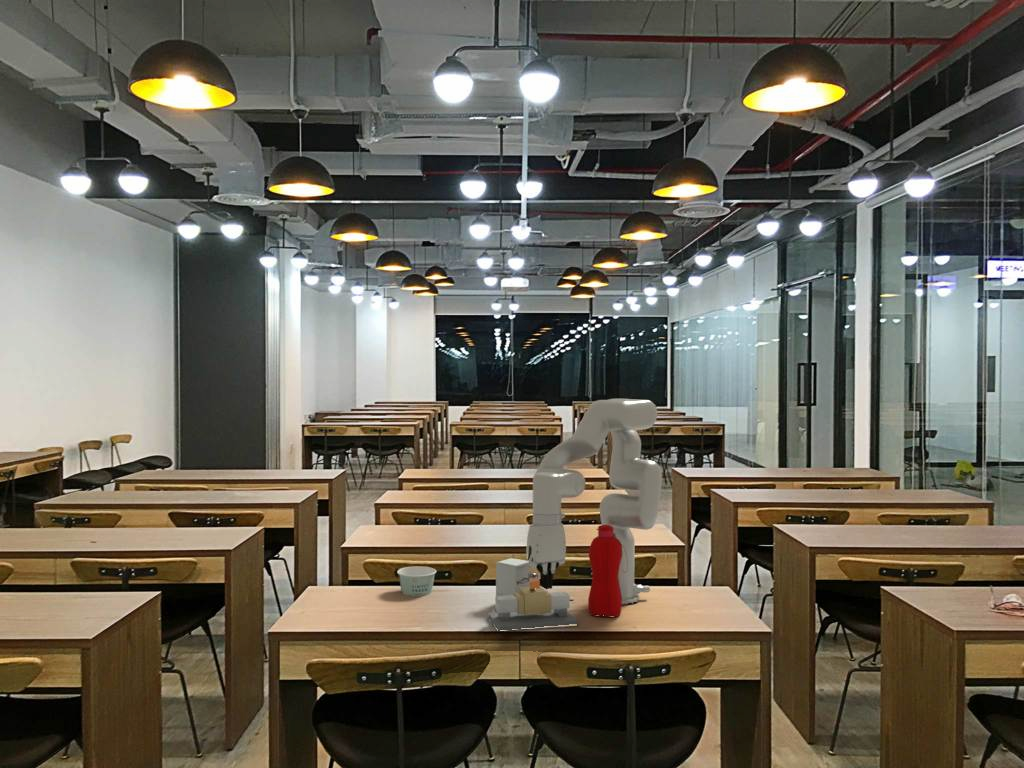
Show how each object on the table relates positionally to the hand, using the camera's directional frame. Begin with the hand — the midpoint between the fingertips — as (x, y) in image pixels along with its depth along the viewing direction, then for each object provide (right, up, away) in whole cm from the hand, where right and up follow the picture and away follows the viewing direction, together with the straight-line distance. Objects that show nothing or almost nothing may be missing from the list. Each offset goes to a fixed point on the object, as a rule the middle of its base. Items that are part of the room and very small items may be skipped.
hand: (546, 587), depth 232 cm
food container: (-38, -10, +36) cm, 53 cm away
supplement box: (-9, -11, +23) cm, 27 cm away
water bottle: (+18, -11, +15) cm, 26 cm away
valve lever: (-3, +1, +2) cm, 4 cm away
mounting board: (-4, -11, +6) cm, 13 cm away
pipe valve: (-4, -9, +6) cm, 12 cm away
